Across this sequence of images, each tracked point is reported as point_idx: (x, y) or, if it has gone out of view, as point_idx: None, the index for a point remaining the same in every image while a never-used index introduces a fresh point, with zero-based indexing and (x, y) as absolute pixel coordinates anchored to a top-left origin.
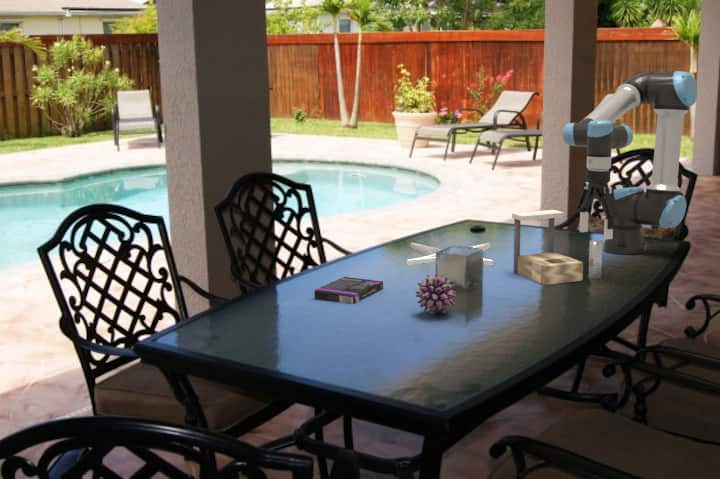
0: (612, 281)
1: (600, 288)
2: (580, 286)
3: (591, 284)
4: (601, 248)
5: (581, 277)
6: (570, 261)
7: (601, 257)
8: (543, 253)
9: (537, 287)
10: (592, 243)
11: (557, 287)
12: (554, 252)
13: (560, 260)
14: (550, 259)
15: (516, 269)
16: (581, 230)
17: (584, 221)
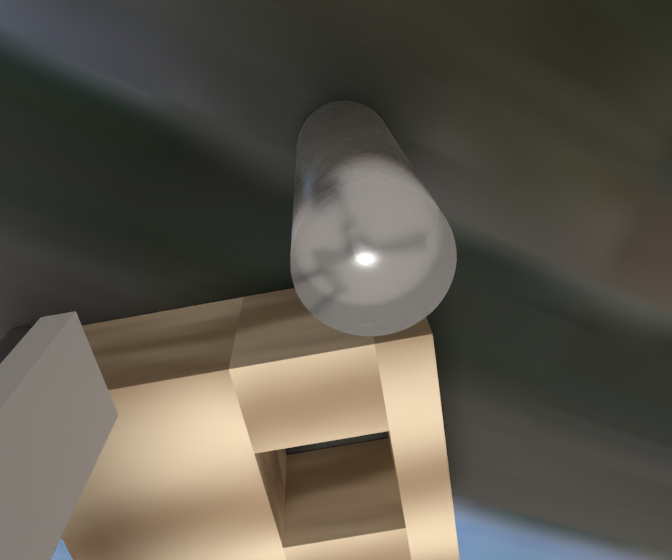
0: (500, 69)
1: (635, 236)
2: (539, 330)
3: (521, 250)
4: (425, 188)
5: None
6: (373, 408)
7: (402, 154)
8: None
9: (470, 526)
10: (413, 317)
11: (508, 446)
12: None
13: (285, 442)
14: (270, 506)
15: None
16: (107, 423)
17: (29, 488)
